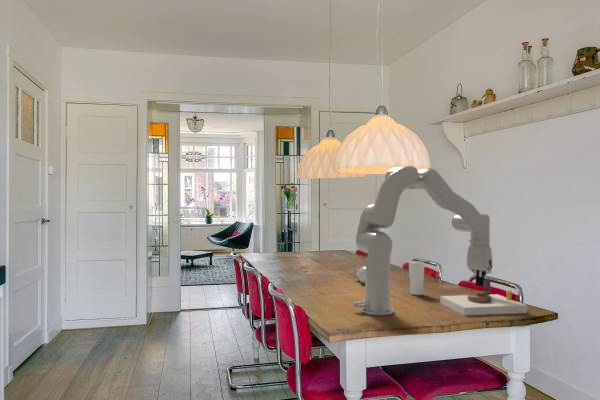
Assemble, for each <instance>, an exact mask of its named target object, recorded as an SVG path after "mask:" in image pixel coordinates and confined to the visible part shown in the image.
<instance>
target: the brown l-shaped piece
mask: <svg viewBox="0 0 600 400" xmlns="http://www.w3.org/2000/svg"><path fill="white" fill-rule="evenodd" d="M490 294H491V279H484V286H483V290H481V291H479V292H477V293H470V294H467V295H468V300H470V301H474V302H491V301H492V297H491V296H489V295H490Z"/></svg>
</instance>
